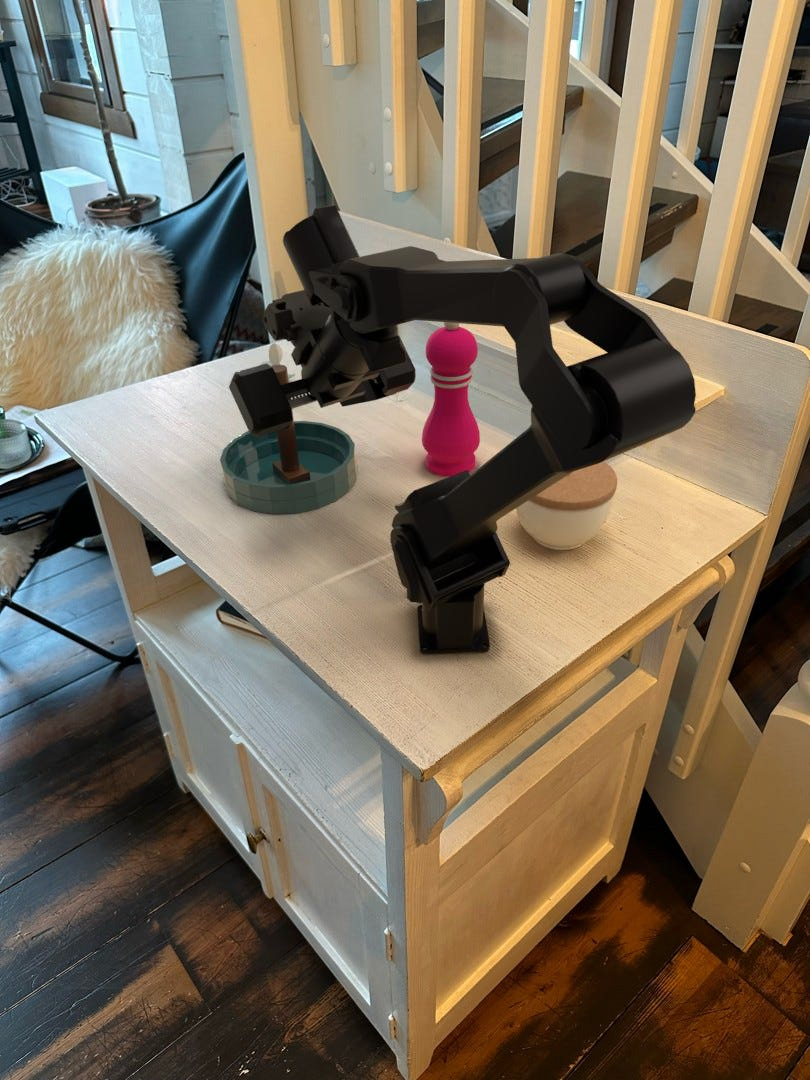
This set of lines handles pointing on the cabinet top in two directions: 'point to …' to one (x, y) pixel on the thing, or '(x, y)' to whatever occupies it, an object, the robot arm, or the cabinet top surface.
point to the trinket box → (570, 508)
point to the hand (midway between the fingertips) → (305, 413)
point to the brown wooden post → (288, 446)
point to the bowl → (318, 452)
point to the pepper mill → (451, 402)
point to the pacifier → (275, 357)
